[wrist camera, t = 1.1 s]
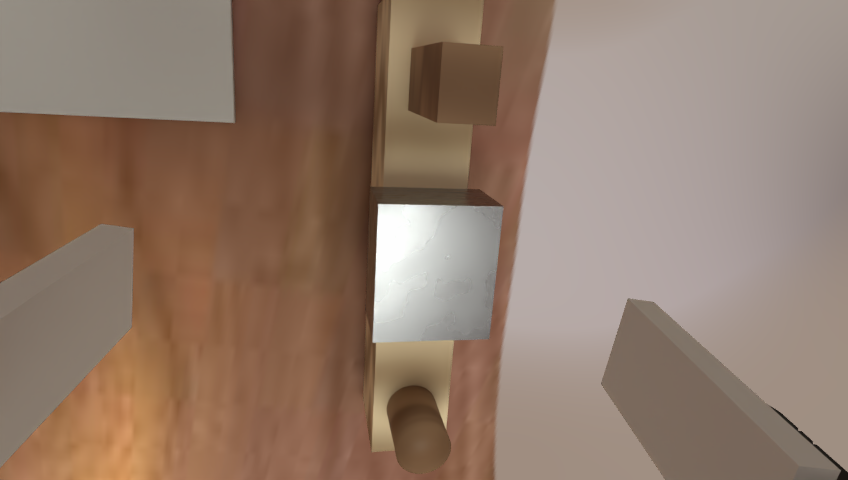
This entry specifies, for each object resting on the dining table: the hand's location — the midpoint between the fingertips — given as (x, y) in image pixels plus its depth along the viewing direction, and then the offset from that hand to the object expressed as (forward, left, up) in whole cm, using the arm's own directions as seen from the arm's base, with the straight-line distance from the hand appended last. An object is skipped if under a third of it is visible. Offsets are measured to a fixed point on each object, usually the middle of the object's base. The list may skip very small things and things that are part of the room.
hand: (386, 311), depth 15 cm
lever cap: (+2, -5, -15) cm, 16 cm away
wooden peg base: (+2, -5, -21) cm, 22 cm away
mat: (-4, +15, -21) cm, 26 cm away
